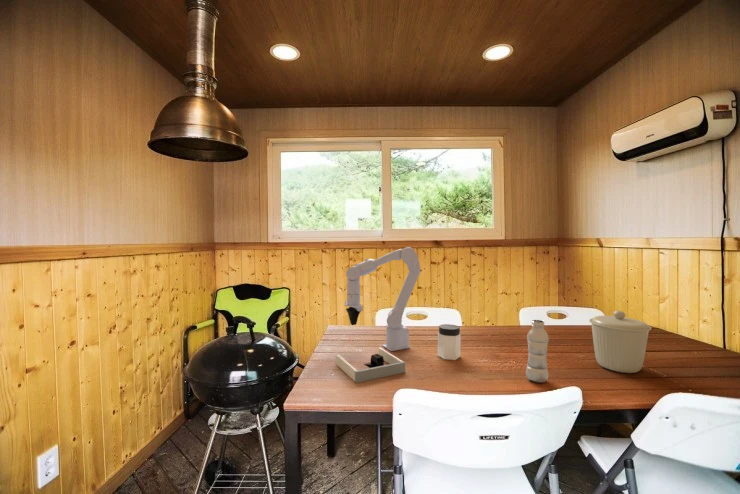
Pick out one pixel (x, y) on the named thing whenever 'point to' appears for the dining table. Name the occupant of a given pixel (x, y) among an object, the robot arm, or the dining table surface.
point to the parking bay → (376, 372)
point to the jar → (449, 342)
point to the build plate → (375, 361)
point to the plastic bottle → (537, 352)
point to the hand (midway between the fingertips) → (353, 324)
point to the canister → (619, 342)
